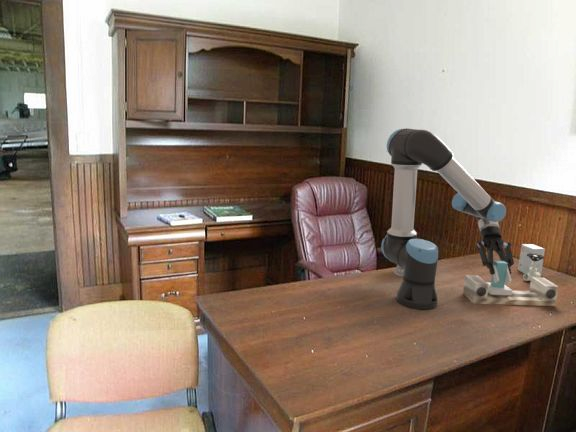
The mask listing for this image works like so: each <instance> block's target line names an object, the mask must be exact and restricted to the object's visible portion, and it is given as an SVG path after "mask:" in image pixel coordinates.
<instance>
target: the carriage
mask: <svg viewBox="0 0 576 432" xmlns="http://www.w3.org/2000/svg"><path fill="white" fill-rule="evenodd" d="M493 265H496V269H497V273H498V277H499V281H498V282H497V283H494V279H493V275H491V277H490V278H491V280H490V282H488V281H486V282H487V283H488V284H489V286H488V295H506V296H509V295H512V291H513V289H511V287H508V286H507V285H506V272H507V266H508V263H506V262H505V261H501V260H493Z"/></svg>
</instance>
